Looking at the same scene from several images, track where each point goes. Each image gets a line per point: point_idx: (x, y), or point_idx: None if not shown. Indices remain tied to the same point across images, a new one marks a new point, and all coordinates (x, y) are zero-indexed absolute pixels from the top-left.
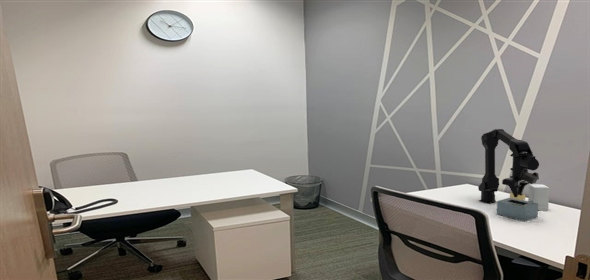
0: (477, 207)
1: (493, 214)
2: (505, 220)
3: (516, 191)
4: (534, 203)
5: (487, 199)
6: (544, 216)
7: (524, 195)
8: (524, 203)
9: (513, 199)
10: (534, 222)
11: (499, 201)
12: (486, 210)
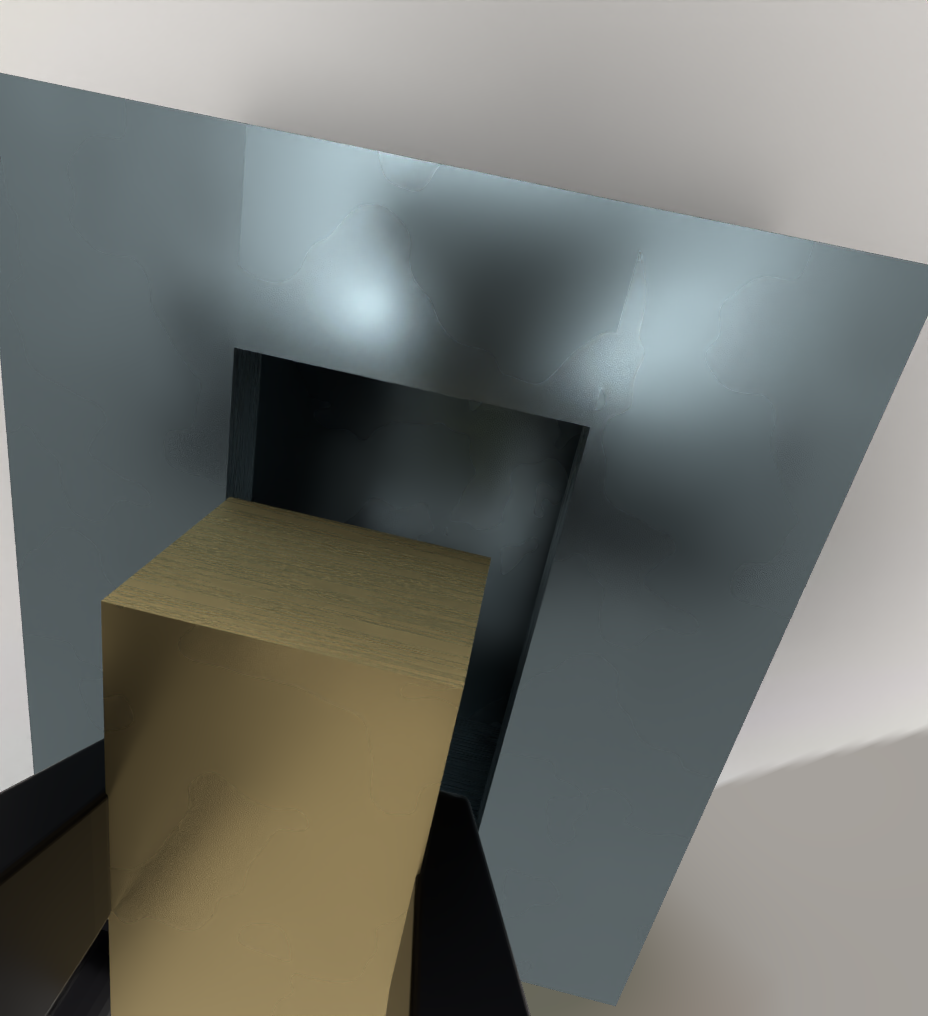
0: None
1: None
2: (909, 562)
3: None
4: (95, 183)
5: (93, 1001)
6: (76, 25)
7: (217, 609)
8: (244, 472)
9: None
10: (699, 41)
11: (620, 968)
12: None
